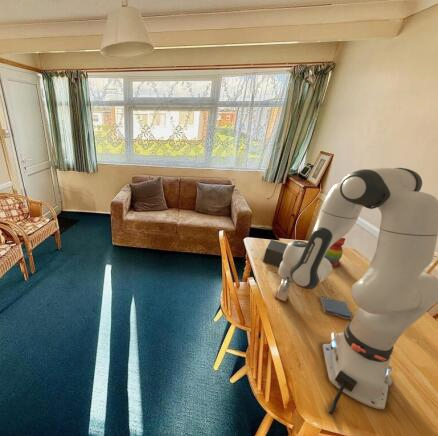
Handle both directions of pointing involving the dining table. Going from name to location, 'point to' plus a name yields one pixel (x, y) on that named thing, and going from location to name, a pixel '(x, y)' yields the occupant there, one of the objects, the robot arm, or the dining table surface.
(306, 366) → the dining table surface
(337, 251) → the stacking bear
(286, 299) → the block
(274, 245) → the cabinet
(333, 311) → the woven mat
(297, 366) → the dining table surface
